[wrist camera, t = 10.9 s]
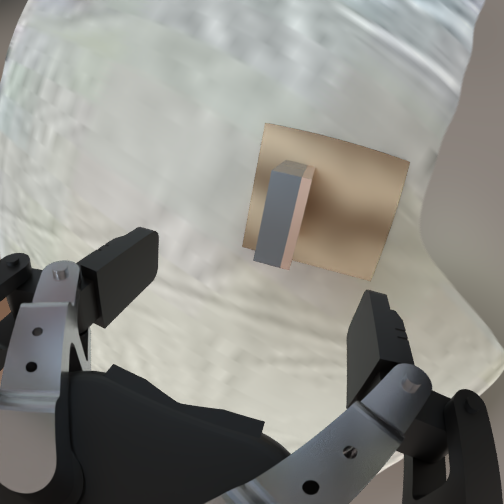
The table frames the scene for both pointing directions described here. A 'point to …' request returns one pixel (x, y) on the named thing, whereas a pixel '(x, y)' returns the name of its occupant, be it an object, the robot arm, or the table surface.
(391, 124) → the table surface
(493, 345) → the table surface
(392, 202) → the tan wavy tile
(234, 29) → the table surface
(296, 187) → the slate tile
